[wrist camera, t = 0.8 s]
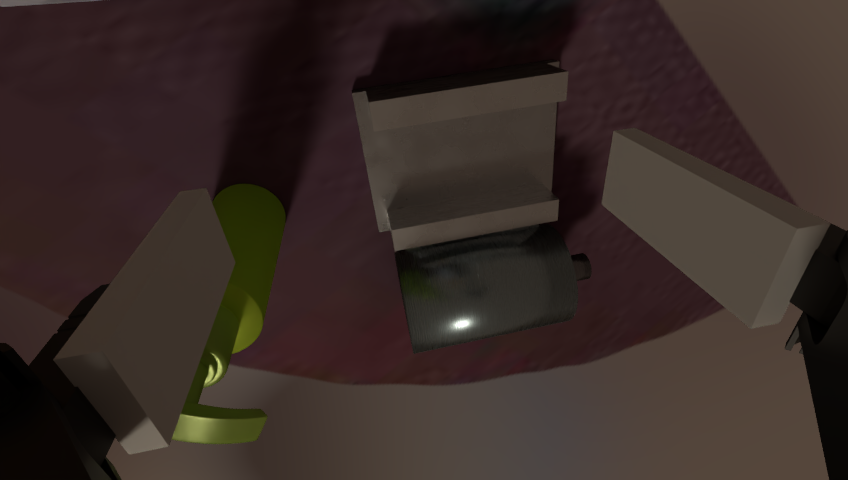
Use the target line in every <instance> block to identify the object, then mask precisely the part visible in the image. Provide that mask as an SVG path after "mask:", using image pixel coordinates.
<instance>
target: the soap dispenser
mask: <svg viewBox="0 0 848 480" xmlns="http://www.w3.org/2000/svg"><path fill="white" fill-rule="evenodd" d="M212 204H213V206H214V209H215V211H216V214H217V217H218V219H219V222H220V224H221V227H222V229H223V232H224V234H225V237H226V240H227V242H228V245H229V247H230V250H231V252H232V255H233V257H234V260H235V265H234V268H233V271H232V274H231V276H230V279H229V282H228V285H227V287H226V290H225V293H224V296H223V299H222V301H221V304H220V307H219V310H218V312H217V315H216V318H215V321H214V323H213V326H212V329H211V332H210V334H209V337H208V340H207V343H206V345H205V348H204V351H203V354H202V357H201V359H200V362H199V365H198V368H197V370H196V373H195V376H194V379H193V381H192V384H191V387H190V390H189V392H188V395H187V398H186V401H185V403H184V406H183V409H182V412H181V414H180V417H179V420H178V423H177V426H176V428H175V431H174V434H173V437H172V439H171V440H177V441H184V442H191V443H202V444H232V443H242V442H250V441H255V440H257V439H258V437H259V435H260V433H261V431H262V429H263V426H264V424H265V422H266V420H267V415H266V414H265V413H264V412H263V411H262V410H261V409H229V408H220V407H213V406H207V405H201V404H198V402H199V399H200V395H201V393H202V389H203V388H205V387H209V386H211V385H213V384H215V383H217V382H219V381H220V380H221V379H222V378H223V377H224V375H225V373H226V371H227V368H228V365H229V362H230V358H231V355H232V354H233V353H236V352H239V351H241V350H243V349H245V348H247V347H248V346H250V345H251V344H252V343H253V342H254V341H255V340H256V339H257V337H258V336H259V334H260V332H261V330H262V327H263V322H264V317H265V313H266V308H267V304H268V299H269V295H270V290H271V286H272V281H273V277H274V272H275V267H276V263H277V258H278V254H279V249H280V245H281V240H282V236H283V231H284V227H285V222H286V215H285V210H284V208H283V206H282V204H281V202H280V201H279V199H278V198H277V197H276V196H275V195H274V194H273V193H271V192H270V191H268V190H267V189H265V188H262V187H260V186H257V185H253V184H236V185H232V186H229V187H227V188H225V189H223V190H222V191H221V192H219V193H218V194H217V196H216V197H215V198H214V200H213V202H212Z"/></svg>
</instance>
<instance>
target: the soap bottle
mask: <svg viewBox="0 0 848 480" xmlns="http://www.w3.org/2000/svg"><path fill="white" fill-rule="evenodd" d="M85 1H100V0H0V6H2V7H8V6H24V5H39V4H54V3H70V2H85Z"/></svg>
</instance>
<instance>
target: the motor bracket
mask: <svg viewBox="0 0 848 480" xmlns="http://www.w3.org/2000/svg"><path fill="white" fill-rule="evenodd" d="M567 83H568V71H566V70H563V69H561V68H559V61H557V60H547V61H541V62H534V63H528V64H521V65H515V66H508V67H501V68H495V69H488V70H482V71H475V72H469V73H462V74H456V75H449V76H442V77H436V78H429V79H423V80H416V81H410V82H403V83H397V84H390V85H383V86H377V87H370V88H364V89H357V90H352V95H353V100H354V105H355V110H356V116H357V121H358V126H359V131H360V136H361V141H362V146H363V151H364V157H365V162H366V167H367V172H368V177H369V182H370V187H371V192H372V198H373V203H374V208H375V213H376V218H377V223H378V228H379V232H383V231H388V230H390V231H391V235H392V240H393V245H394V249H395V251H399V250H404V249H406V250H405V251H400V252H395V260H396V266H397V271H398V277H399V282H400V288H401V293H402V299H403V304H404V309H405V314H406V319H407V324H408V329H409V334H410V339H411V344H412V349H413V353H414V354H415V353H419V352H424V351H429V350H434V349H438V348H443V347H448V346H452V345H457V344H462V343H467V342H471V341H476V340H481V339H485V338H490V337H495V336H499V335H504V334H509V333H514V332H518V331H523V330H528V329H532V328H537V327H542V326H547V325H551V324H556V323H561V322H565V321H569V320H571V319H572V318H573V317H574V315H575V313H576V309H577V303H578V287H577V281H579V280H584V279H589V278H590V276H591V264H590V261H589V259H588V257H587V256H586V255H585V254H583V253H581V254H576V255H571V256H570V253H569V250H568V248H567V246H566V244H565V242H564V240H563V238H562V237H561V235H560V234H559V233H558V231H557V230H556V229H555V228H554V227H552V226H551V225H549V224H543V225H539V224H542V223H547V222H552V221H557V220H558V208H559V199H558V198H557V197H556V196H555V195H554V194H553V193H552V177H553V160H554V144H555V127H556V111H557V102H560V101H566V96H567Z"/></svg>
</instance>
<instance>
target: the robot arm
mask: <svg viewBox="0 0 848 480" xmlns="http://www.w3.org/2000/svg"><path fill="white" fill-rule="evenodd" d="M602 205H603V206H604V207H606V208H607V209H608V210H609V211H610V212H612V213H613V214H614V215H615V216H616V217H617V218H619V219H620V220H621V221H622V222H623V223H625V224H626V225H627V226H628V227H629V228H631V229H632V230H633V231H634V232H635V233H637V234H638V235H639V236H640V237H641V238H643V239H644V240H645V241H646V242H647V243H649V244H650V245H651V246H652V247H653V248H655V249H656V250H657V251H658V252H659V253H661V254H662V255H663V256H664V257H665V258H667V259H668V260H669V261H670V262H671V263H673V264H674V265H675V266H676V267H677V268H679V269H680V270H681V271H682V272H683V273H685V274H686V275H687V276H688V277H689V278H690V279H692V280H693V281H694V282H695V283H696V284H698V285H699V286H700V287H701V288H702V289H704V290H705V291H706V292H707V293H708V294H710V295H711V296H712V297H713V298H714V299H716V300H717V301H718V302H719V303H720V304H722V305H723V306H724V307H725V308H726V309H728V310H729V311H730V312H731V313H733V314H734V315H735V316H736V317H737V318H738V319H740V320H741V321H742V322H743V323H744V324H746V325H747V326H748V327H749V328H750V329H753V328H757V327H763V326H767V325H772V324H777V323H780V321H781V319H782V317H783V316H784V314H785V312H786V310H787V308H788V306H789V304H790V302H791V303H792V304H794V305H795V306H797V307H798V308H799V309H801V310H802V311H803V313H802V315H801V317H800V319H799V320H798V322H797V324H796V326H795V328H794V330H793V331H792V334H791V335H790V337H789V339H788V341H787V342H786V346H785V349H786V350H791V349H792V347H793V346H794V344H796V343H799V342H801V346H802V348H801V350H800V352H799V353H801V354H803V355H804V360H805V365H806V369H807V375H808V379H809V384H810V389H811V394H812V399H813V404H814V408H815V413H816V418H817V423H818V428H819V432H820V437H821V442H822V447H823V452H824V457H825V462H826V467H827V471H828V476H829V480H848V230H847V231H845V230H843V229H841V228H839V227H837V226H835V225H833V224H831V223H830V222H827V221H826V220H823V219H821V218H819V217H817V216H815V215H813V214H811V213H809V212H807V211H805V210H803V209H801V208H799V207H797V206H795V205H793V204H791V203H789V202H786V201H784V200H782V199H780V198H778V197H776V196H774V195H772V194H770V193H768V192H766V191H764V190H762V189H760V188H758V187H756V186H754V185H751V184H749V183H747V182H745V181H743V180H741V179H739V178H737V177H735V176H733V175H731V174H729V173H727V172H725V171H723V170H721V169H719V168H717V167H714V166H712V165H710V164H708V163H706V162H704V161H702V160H700V159H698V158H696V157H694V156H692V155H690V154H688V153H686V152H684V151H682V150H679V149H677V148H675V147H673V146H671V145H669V144H667V143H665V142H663V141H661V140H659V139H657V138H655V137H653V136H651V135H649V134H647V133H645V132H642V131H640V130H638V129H636V128H631V129H624V130H617V131H614V133H613V139H612V145H611V151H610V157H609V163H608V169H607V174H606V180H605V186H604V192H603V198H602ZM234 265H235V260H234V257H233V255H232V252H231V250H230V247H229V245H228V242H227V240H226V237H225V234H224V232H223V229H222V227H221V224H220V222H219V219H218V217H217V214H216V211H215V209H214V206H213V204H212V201H211V199H210V196H209V194H208V191H207V189H206V188H203V189H195V190H188V191H181V192H179V193H178V195H177V196H176V197H175V199H174V200H173V201H172V203H171V204H170V205H169V207H168V208H167V209H166V211H165V212H164V213H163V215H162V216H161V217H160V219H159V220H158V221H157V222H156V224H155V225H154V226H153V228H152V229H151V230H150V232H149V233H148V234H147V236H146V237H145V238H144V240H143V241H142V242H141V244H140V245H139V246H138V248H137V249H136V250H135V252H134V253H133V254H132V256H131V257H130V258H129V260H128V261H127V262H126V264H125V265H124V266H123V268H122V269H121V270H120V272H119V273H118V274H117V276H116V277H115V278H114V280H113V281H112V282H111V284H106V285H101V286H100V287H99V288H97V289H96V290H95V291H93V292H92V293H91V294H89V295H88V296H87V297H85V298H84V299H83V300H81V301H80V303H79V304H78V305H77V306H76V308H75V309H74V310H73V311H72V313H71V314H70V315H69V316H68V318H69V319H68V320H65V321H64V323H63V324H62V325H61V326H60V328H59V329H58V330H57V331H58V333H57V334H54V335H53V336H52V338H51V339H50V340H49V341H48V342H47V344H46V345H45V346H44V347H43V349H42V350H41V351H40V352H39V354H38V355H37V356H36V357H35V359H34V360H33V361H32V362H31V364H30V365H29V366H28V365H27V364H26V363H25V362H24V361H23V359H22V358H21V357H20V356H19V355H18V354H17V352H16V351H15V350H14V349H13V348H12V347H11V346H9V345H8V344H6V343H0V480H121V478H120V476H119V474H118V473H117V471H116V469H115V467H114V466H113V464H112V463H111V462H110V461H109V460H108V459H107V458H106V455H107V453H108V451H109V449H110V447H111V445H112V443H113V440H114V438H116V439H117V440H118V442H119V443H120V444H121V445H122V447H123V448H124V449H125V450H126V452H127V453H128V454H134V453H139V452H144V451H149V450H154V449H159V448H164V447H169V445H170V442H171V439H172V437H173V434H174V431H175V428H176V426H177V423H178V420H179V417H180V414H181V412H182V409H183V406H184V403H185V401H186V398H187V395H188V392H189V390H190V387H191V384H192V381H193V379H194V376H195V373H196V370H197V368H198V365H199V362H200V359H201V357H202V354H203V351H204V348H205V345H206V343H207V340H208V337H209V334H210V332H211V329H212V326H213V323H214V321H215V318H216V315H217V312H218V310H219V307H220V304H221V301H222V299H223V296H224V293H225V290H226V287H227V285H228V282H229V279H230V276H231V274H232V271H233V268H234Z"/></svg>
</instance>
